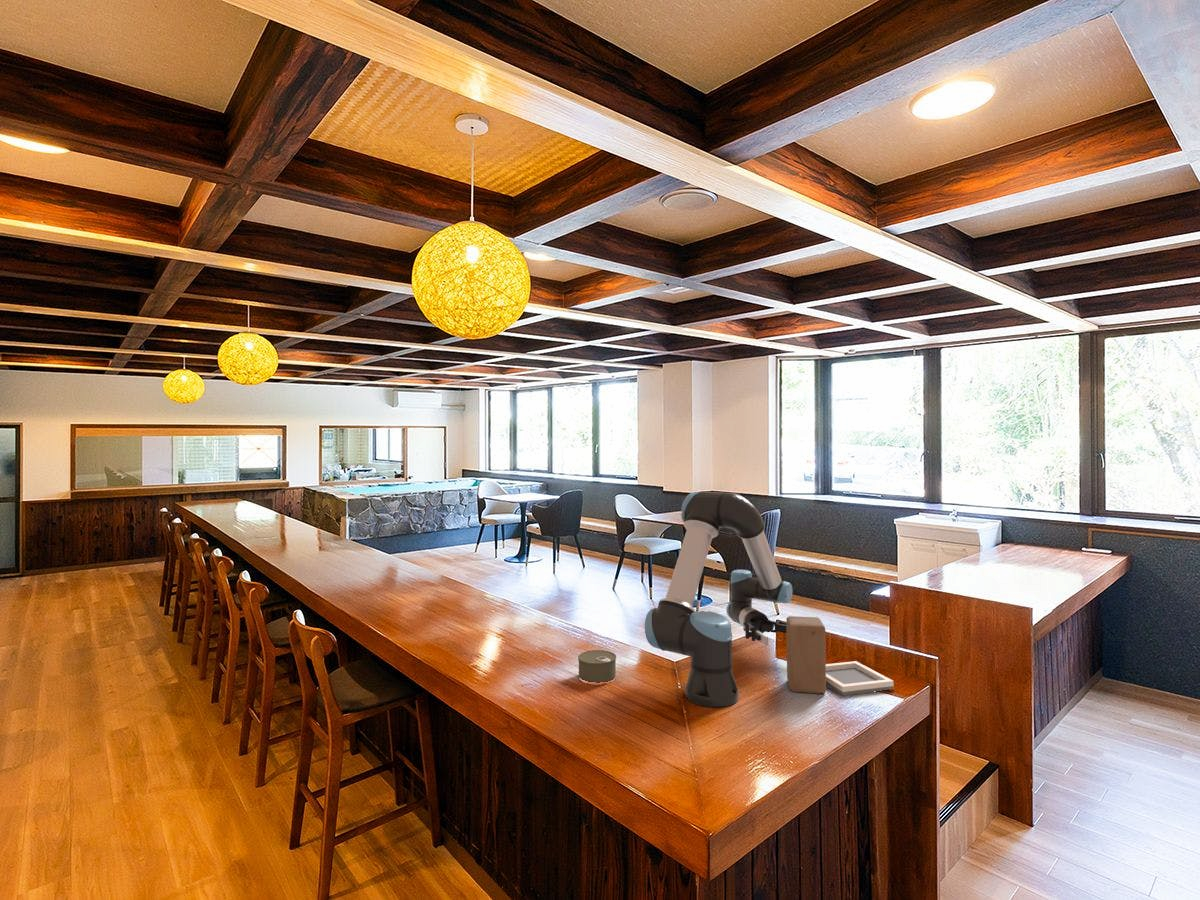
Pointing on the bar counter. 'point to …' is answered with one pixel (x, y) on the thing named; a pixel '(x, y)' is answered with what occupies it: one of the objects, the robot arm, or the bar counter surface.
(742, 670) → the bar counter surface
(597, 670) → the can
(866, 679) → the locating plate
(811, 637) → the wooden block
